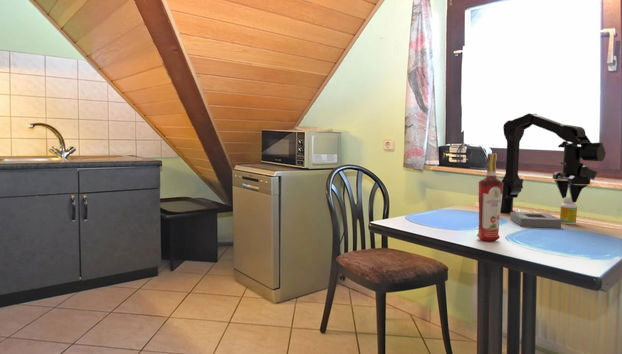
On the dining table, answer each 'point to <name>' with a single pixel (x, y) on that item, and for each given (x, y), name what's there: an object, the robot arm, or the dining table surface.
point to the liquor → (490, 203)
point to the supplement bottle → (568, 211)
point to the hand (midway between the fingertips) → (568, 200)
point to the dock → (535, 219)
